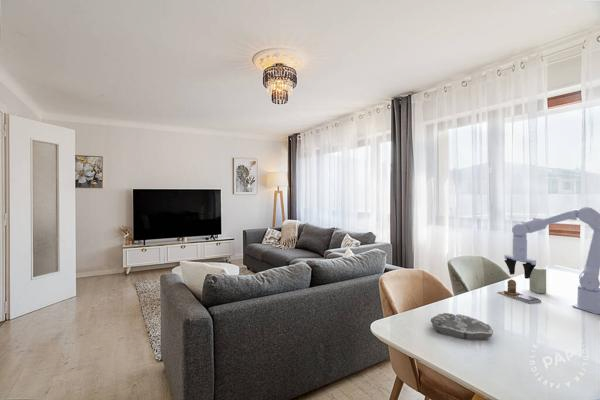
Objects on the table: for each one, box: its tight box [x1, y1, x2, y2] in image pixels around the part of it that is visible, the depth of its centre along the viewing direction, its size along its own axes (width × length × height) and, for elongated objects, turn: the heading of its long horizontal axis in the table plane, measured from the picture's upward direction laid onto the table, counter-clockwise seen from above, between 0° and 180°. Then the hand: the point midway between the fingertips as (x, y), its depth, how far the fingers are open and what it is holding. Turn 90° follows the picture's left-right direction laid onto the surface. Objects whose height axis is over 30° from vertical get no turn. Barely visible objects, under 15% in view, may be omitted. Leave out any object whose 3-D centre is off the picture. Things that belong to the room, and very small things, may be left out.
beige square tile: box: [496, 290, 523, 300], centre depth 150 cm, size 9×9×1 cm
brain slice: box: [430, 312, 494, 341], centre depth 110 cm, size 20×17×3 cm
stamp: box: [503, 279, 520, 296], centre depth 150 cm, size 4×4×7 cm
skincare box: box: [528, 266, 547, 294], centre depth 156 cm, size 6×4×12 cm
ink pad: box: [515, 294, 542, 304], centre depth 142 cm, size 7×7×1 cm
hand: (519, 276), depth 148 cm, fingers open, 7 cm apart
